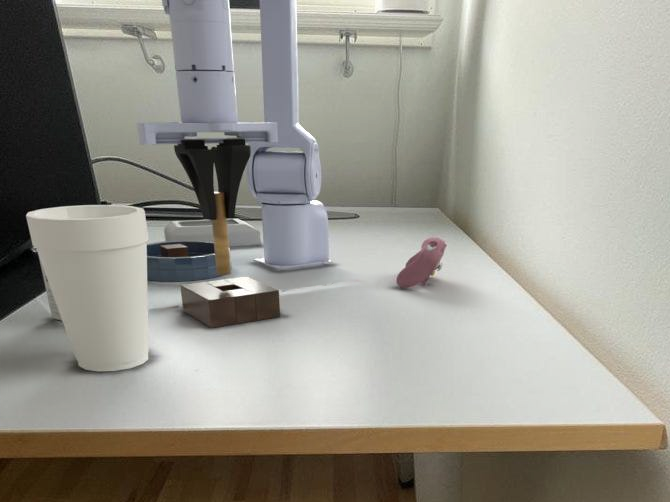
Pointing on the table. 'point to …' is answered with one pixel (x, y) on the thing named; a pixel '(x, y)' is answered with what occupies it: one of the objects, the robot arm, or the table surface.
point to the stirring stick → (221, 236)
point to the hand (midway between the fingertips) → (218, 218)
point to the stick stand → (230, 301)
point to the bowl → (182, 262)
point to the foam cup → (97, 280)
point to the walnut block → (174, 250)
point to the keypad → (203, 231)
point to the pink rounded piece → (422, 263)
